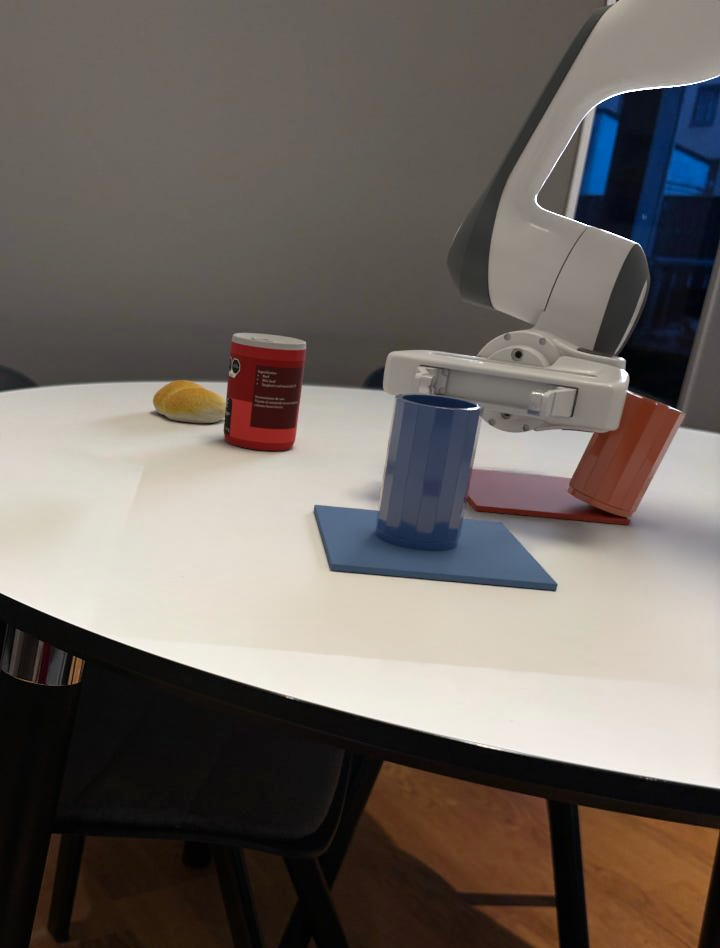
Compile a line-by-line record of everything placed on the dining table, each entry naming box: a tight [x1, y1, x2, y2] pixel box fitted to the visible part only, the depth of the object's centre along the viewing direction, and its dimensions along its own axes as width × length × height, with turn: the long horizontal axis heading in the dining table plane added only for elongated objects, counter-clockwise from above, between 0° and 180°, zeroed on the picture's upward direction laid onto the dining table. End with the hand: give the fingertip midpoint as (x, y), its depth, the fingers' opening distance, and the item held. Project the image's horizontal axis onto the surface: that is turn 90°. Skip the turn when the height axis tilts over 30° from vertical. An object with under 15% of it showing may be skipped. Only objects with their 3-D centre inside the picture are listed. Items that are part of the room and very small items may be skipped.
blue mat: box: [313, 504, 558, 591], centre depth 78 cm, size 16×16×1 cm
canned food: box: [223, 332, 307, 452], centre depth 107 cm, size 8×8×11 cm
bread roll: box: [152, 379, 226, 424], centre depth 119 cm, size 8×9×4 cm
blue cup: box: [375, 393, 484, 551], centre depth 76 cm, size 6×6×10 cm
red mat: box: [467, 468, 631, 526], centre depth 98 cm, size 14×16×1 cm
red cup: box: [566, 389, 686, 519], centre depth 92 cm, size 6×6×10 cm
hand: (478, 395), depth 80 cm, fingers open, 8 cm apart
